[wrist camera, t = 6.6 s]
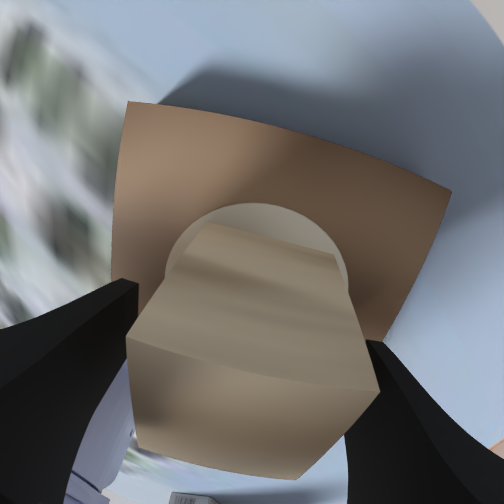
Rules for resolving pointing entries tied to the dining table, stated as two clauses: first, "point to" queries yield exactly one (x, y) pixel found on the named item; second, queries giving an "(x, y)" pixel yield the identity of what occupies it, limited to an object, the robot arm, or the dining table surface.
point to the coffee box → (190, 499)
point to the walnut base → (269, 202)
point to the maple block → (248, 357)
